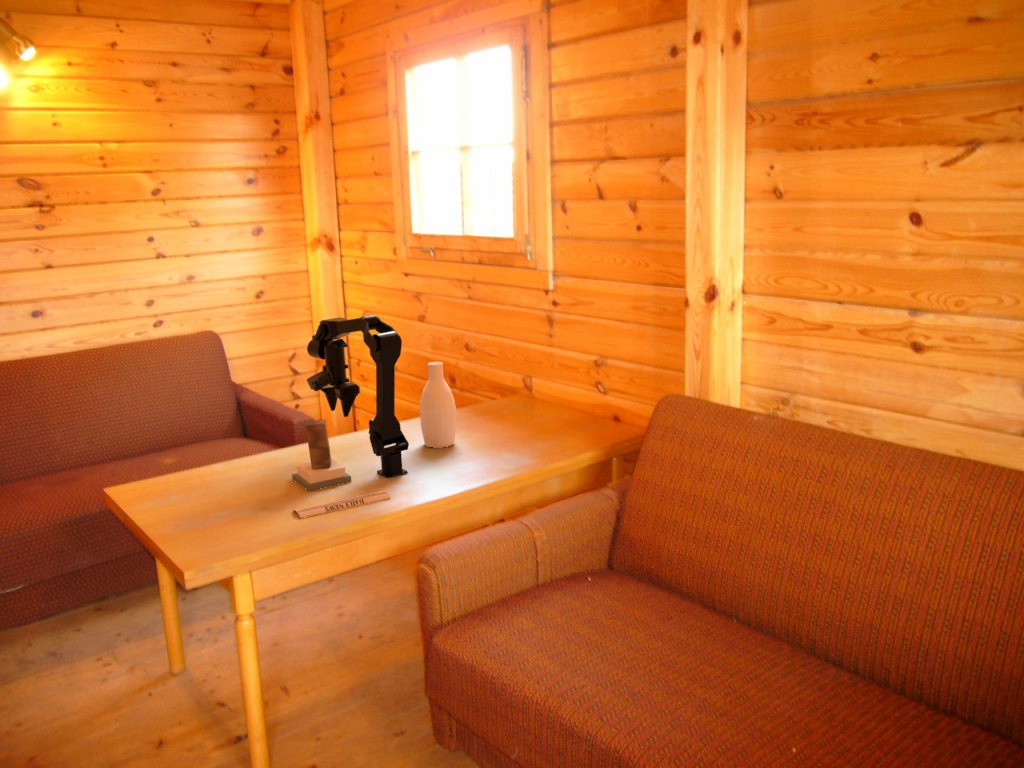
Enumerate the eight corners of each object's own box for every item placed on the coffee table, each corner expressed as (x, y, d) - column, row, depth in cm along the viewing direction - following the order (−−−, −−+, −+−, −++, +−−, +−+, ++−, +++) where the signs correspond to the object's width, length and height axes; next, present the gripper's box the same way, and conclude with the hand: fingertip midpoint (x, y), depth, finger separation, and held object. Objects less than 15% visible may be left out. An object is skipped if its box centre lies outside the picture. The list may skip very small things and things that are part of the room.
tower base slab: (351, 484, 241) (350, 475, 240) (309, 494, 234) (308, 485, 234) (333, 473, 250) (332, 465, 250) (292, 482, 244) (291, 474, 243)
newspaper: (381, 495, 232) (381, 488, 231) (392, 502, 226) (392, 495, 226) (293, 514, 220) (292, 507, 220) (302, 523, 214) (301, 516, 214)
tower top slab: (345, 476, 240) (345, 467, 240) (310, 483, 235) (309, 474, 234) (332, 466, 248) (331, 458, 248) (297, 474, 243) (296, 465, 243)
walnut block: (331, 461, 244) (325, 419, 242) (330, 466, 239) (324, 423, 237) (313, 464, 243) (306, 421, 241) (311, 468, 238) (305, 425, 236)
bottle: (464, 445, 270) (460, 363, 265) (432, 452, 264) (428, 368, 259) (446, 437, 279) (442, 357, 274) (414, 443, 273) (410, 363, 268)
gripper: (296, 360, 260) (301, 412, 264) (322, 370, 245) (326, 425, 249) (332, 355, 266) (336, 405, 270) (358, 365, 251) (362, 418, 255)
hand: (339, 413), depth 261 cm, fingers open, 9 cm apart
